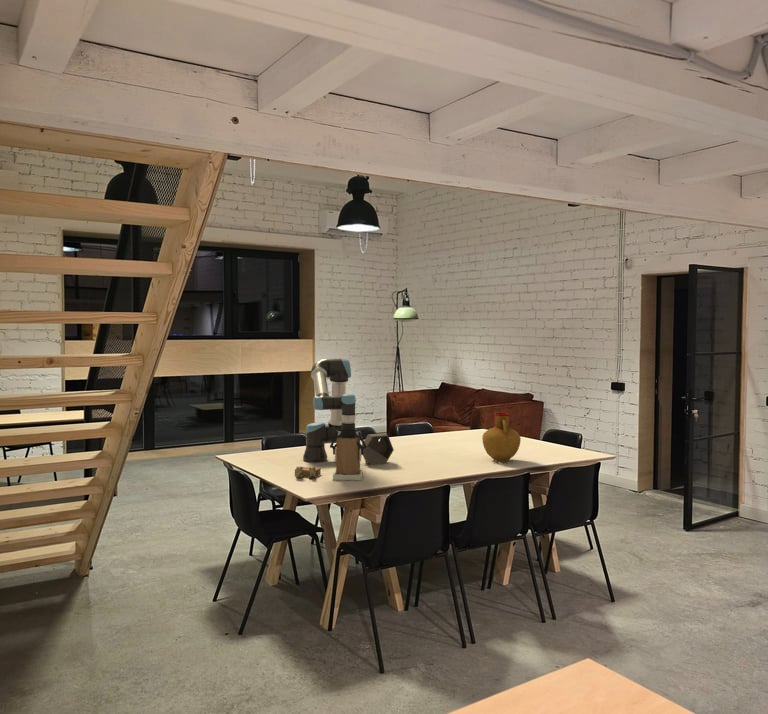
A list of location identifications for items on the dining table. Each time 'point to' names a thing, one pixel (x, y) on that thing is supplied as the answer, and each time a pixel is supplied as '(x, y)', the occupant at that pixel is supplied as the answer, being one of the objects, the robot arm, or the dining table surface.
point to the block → (347, 456)
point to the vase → (501, 439)
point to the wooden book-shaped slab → (306, 472)
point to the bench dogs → (300, 472)
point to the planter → (377, 449)
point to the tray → (348, 476)
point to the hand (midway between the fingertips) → (348, 460)
